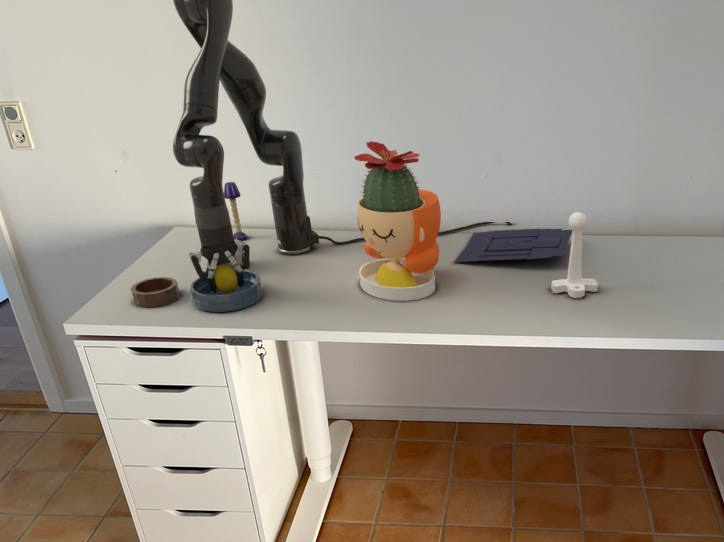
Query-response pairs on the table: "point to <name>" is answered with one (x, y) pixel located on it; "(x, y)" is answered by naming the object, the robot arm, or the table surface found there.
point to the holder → (155, 292)
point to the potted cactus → (397, 228)
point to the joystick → (575, 263)
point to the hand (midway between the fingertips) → (227, 288)
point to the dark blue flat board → (515, 244)
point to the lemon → (225, 279)
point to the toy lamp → (234, 208)
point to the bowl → (227, 302)
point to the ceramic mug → (235, 256)
